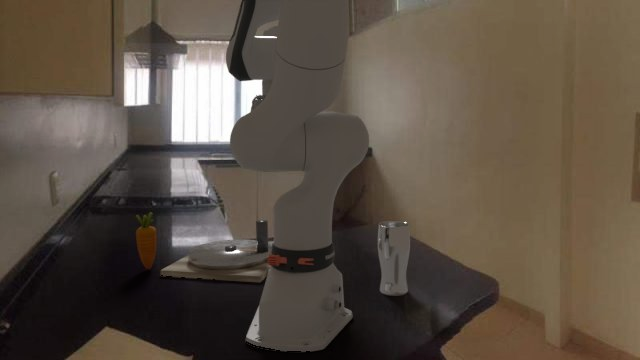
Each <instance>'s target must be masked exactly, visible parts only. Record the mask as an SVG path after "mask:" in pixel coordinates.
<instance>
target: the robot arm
mask: <svg viewBox="0 0 640 360" xmlns="http://www.w3.org/2000/svg"><path fill="white" fill-rule="evenodd" d="M349 7H350V6H349V0H241V1H240V6H239V9H238V14H237V16H236V19H235V24H234V27H233V31H232V35H231V37H230V39H229V41H228V45H227V48H226V51H225V52H226V53H225V64H226V68H227V71H228V73H229V75H231V76H233V78H234V79H236V80H237V81H239V82H247V81H248V82H249V81H256V80H257V81H261V90H262V91H261V93H262V94H257V95H255V96H254V98H253V99H252V101H251V107H250V111H249V112H248V113H246V114H245V115H243V116H241V117H240V118H239V119H238V120H237V121H236V122H235V124H234V125H233V127H232V130H231V132H230V137H229V147H230V151H231V153H232V157H233V158H234V160H235V162H236V163H237V164H238V165H239V166H240V167H241V168H242V169H244V170H251V171H257V172H263V173H281V172H282V173H284V172H285V173H286V172H304V175H303V178H302V181H301V182H300V184H298V185H297V186H296V187H294V188H292V189H290V190H288V191H286V192H285V193H283V194H281V196H279V198H277V199H276V201H275V203H274V206H273V209H272V215H273V217H272V220H273V221H272V222H273V225H272V226H273V243H272V244H271V246H272V251H271V254H269V256H268V257H269V258H268V264H269V266H272V267H271V268H270V269H269V270H268V275H267V277H266V279H265V283H264V286H263V288H262V289H263V290H262V294H261V295H260V300H259V305H258V307H257V309H256V310H255V314H254V316H253V318H252V321H251V323H250V325H249V328H248V330H247V333H246V337H245V342H246V341H247V342H249V343H251V344H253V345H256V346H261V347H265V348H271V349H275V350H274V351H276V350H280V351H279V352H287V351H301V352H300V353H306V351H310V352H316V351H322V350H324V349H326V348H327V346H328V345H329V344H330V343H331V342H332V340H334V339H335V337H337V336H338V334H339V333H340V332H341V331H342V330H343V329H344V328H345V326H346V325H348V323H350V321H351V320H352V319H353V318H354V317H353V312H352V310H350V309H348V308H346V307H345V300H344V299H345V296H344V286H343V285H344V281H343V279H344V278H343V274H342V272H341V270H339V269H337V267H336V265H335V264H334V262H335V259H336V258H335V254H336V251H335V249H336V248H335V243H334V242H333V241H332V239H333V236H332V235H333V232H332V229H333V226H332V225H333V210H334V204H335V203H334V202H335V199H336V196H337V192H338V190H339V188H340V187H341V184H342V183H343V181H344V180H345V179H346V177H347V176H348V175H349V173H350V172H351V171H352V170H353V169H355V168H356V167H357V166H358V165H360V163H361V162H363V160H364V159H365V157H366V155H367V153H368V151H369V145H370V135H369V131H368V128H367V126H366V124H365V123H364V121H363V120H362V118H360V117H359V116H357V115H354V114H351V113H346V112H340V111H326V110H327V109H328V108H330V107H331V106H332V104H333V103H334V102H335V101H336V99H337V98H338V96H339V94H340V91H341V86H342V79H343V74H344V68H345V62H346V57H347V50H348V43H349V33H350V32H349V31H350V9H349ZM276 21H278V23H277V26H275V25H274V26H272V27H268V28H266V29H265V30H264V31H263V34H262V36H261V35H260V36H256V33H257V31H258V29H259V28H260V27H262V26H263V25H266V24H269V23H273V22H276Z"/></svg>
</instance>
